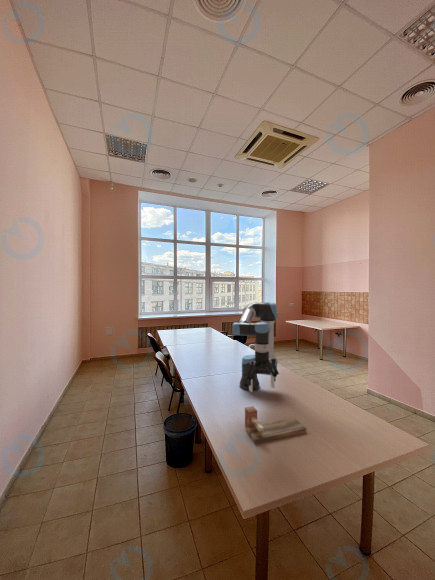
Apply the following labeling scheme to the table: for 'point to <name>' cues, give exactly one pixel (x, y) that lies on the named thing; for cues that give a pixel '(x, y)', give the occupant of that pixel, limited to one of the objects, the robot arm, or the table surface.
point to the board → (276, 430)
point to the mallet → (252, 419)
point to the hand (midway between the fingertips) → (261, 389)
